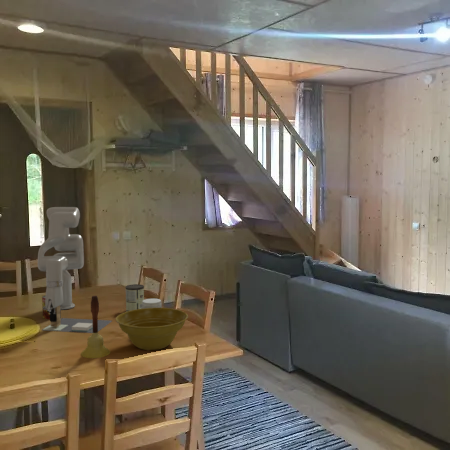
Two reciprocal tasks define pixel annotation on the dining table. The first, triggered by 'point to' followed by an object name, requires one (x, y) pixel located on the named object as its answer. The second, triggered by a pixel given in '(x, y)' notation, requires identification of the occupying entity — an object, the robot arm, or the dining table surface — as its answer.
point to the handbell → (95, 336)
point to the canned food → (45, 309)
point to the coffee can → (134, 297)
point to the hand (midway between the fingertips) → (55, 319)
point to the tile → (82, 327)
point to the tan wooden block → (57, 317)
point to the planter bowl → (152, 326)
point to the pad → (55, 328)
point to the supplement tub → (151, 303)
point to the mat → (72, 322)
